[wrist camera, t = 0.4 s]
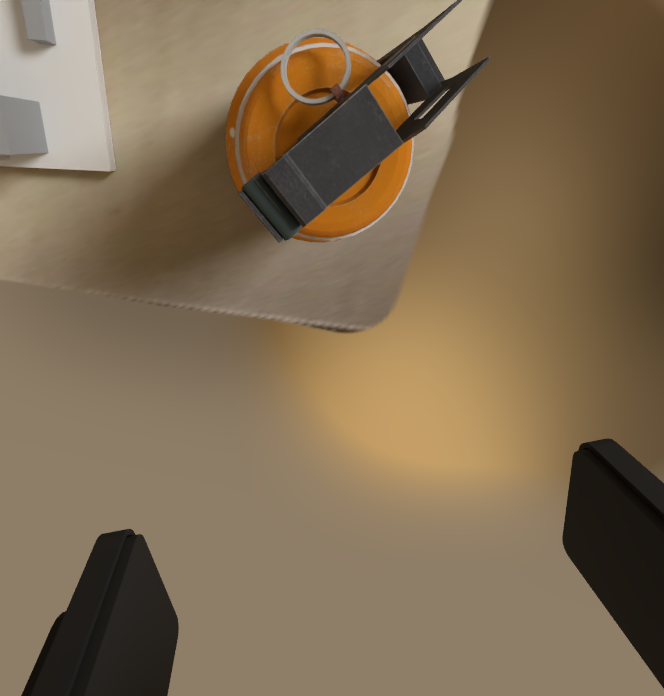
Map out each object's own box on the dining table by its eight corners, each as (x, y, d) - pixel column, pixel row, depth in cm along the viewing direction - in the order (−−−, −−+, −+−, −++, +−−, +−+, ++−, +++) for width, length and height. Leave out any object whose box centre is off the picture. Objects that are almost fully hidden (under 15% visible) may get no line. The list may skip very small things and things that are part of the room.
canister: (213, 133, 32) (144, 125, 14) (335, 21, 31) (435, -150, 12) (294, 233, 36) (322, 327, 18) (408, 138, 34) (567, 136, 16)
